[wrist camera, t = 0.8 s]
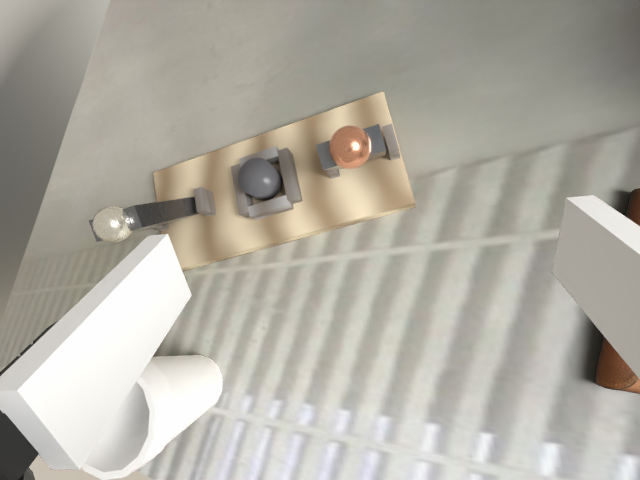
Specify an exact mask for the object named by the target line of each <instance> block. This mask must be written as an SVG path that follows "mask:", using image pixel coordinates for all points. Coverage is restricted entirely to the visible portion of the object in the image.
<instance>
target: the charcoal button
mask: <svg viewBox="0 0 640 480" xmlns="http://www.w3.org/2000/svg"><path fill="white" fill-rule="evenodd" d="M238 182H239V185H240V187H241V189H242V190H243V191H245V192H246V193H248V194H249V195H251V196H253V197H255V198H256V199H258V200H263V201H265V200H270V199H272V198H274V197H275V196H276V195H277V194H278V193H279V191H280V189H281V186H282V177H281V174H280V172H279V171H278V170H277V169H276V168H275V167H274V166H272V165H271V164H270V163H269V162H268V161H267V160H265V159H263V158H252V159H250V160H248V161H247V162H245V163H244V164H243V166H242V167H241V169H240V171H239V174H238Z"/></svg>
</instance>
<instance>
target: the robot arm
mask: <svg viewBox="0 0 640 480" xmlns="http://www.w3.org/2000/svg"><path fill="white" fill-rule="evenodd" d="M552 273H553V275H554V276H555V277H556V278H557V279H558V281H559V282H560V283H561V284H562V286H563V287H564V288H565V289H566V290H567V292H568V293H569V294H570V295H571V297H572V298H573V299H574V300H575V301H576V303H577V304H578V305H579V306H580V307H581V309H582V310H583V311H584V312H585V314H586V315H587V316H588V317H589V318H590V320H591V321H592V322H593V323H594V324H595V326H596V327H597V328H598V329H599V331H600V332H601V333H602V334H603V335H604V337H605V338H606V339H607V340H608V342H609V343H610V344H611V345H612V346H613V348H614V349H615V350H616V351H617V352H618V354H619V355H620V356H621V357H622V359H623V360H624V361H625V362H626V363H627V365H628V366H629V367H630V368H631V369H632V371H633V372H634V373H635V374H636V376H637V377H638V378H639V379H640V226H639V225H637V224H636V223H634V222H633V221H631V220H630V219H628V218H627V217H625V216H624V215H622V214H621V213H619V212H618V211H616V210H615V209H613V208H612V207H610V206H609V205H607V204H606V203H605V202H603V201H602V200H600V199H599V198H597V197H596V196H594V195H591V196H580V197H569V198H566V201H565V207H564V212H563V217H562V222H561V228H560V233H559V238H558V243H557V249H556V254H555V259H554V264H553V270H552ZM191 296H192V295H191V292H190V290H189V287H188V285H187V282H186V280H185V277H184V274H183V272H182V269H181V267H180V264H179V261H178V259H177V256H176V254H175V251H174V248H173V246H172V243H171V241H170V238H169V235H168V234H161V235H150V236H147V237H146V238H145V239H144V240H143V241H142V242H141V243H140V244H139V245H138V246H137V247H136V248H135V249H134V250H133V251H132V252H131V253H129V254H128V255H127V256H126V257H125V258H124V259H123V260H122V261H121V262H120V263H119V264H118V265H117V266H116V267H115V268H114V269H113V270H112V271H111V272H109V273H108V274H107V275H106V276H105V277H104V278H103V279H102V280H101V281H100V282H99V283H98V284H97V285H96V286H95V287H94V288H93V289H92V290H91V291H90V292H88V293H87V294H86V295H85V296H84V297H83V298H82V299H81V300H80V301H79V302H78V303H77V304H76V305H75V306H74V307H73V308H72V309H71V310H70V311H68V312H67V313H66V314H65V315H64V316H63V317H62V318H61V319H60V320H59V321H57V322H56V323H54V324H53V325H51V326H50V327H48V328H47V329H46V330H45V331H44V332H43V333H42V334H41V335H40V336H38V337H37V338H36V339H35V340H34V341H33V344H31V345H29V346H28V347H27V348H26V349H25V350H24V351H23V352H21V353H20V354H21V356H18V357H16V358H15V359H14V360H13V361H12V362H11V363H10V364H9V365H8V366H7V367H5V368H4V369H3V370H2V371H1V372H0V480H35V478H34V475H33V472H32V471H31V470H30V468H29V466H30V465H31V463H32V462H33V461H34V459H35V458H36V457H37V456H38V455H39V456H40V457H41V458H42V459H43V461H44V462H45V463H46V464H47V465H48V466H49V468H50V469H52V470H53V469H54V470H59V469H60V470H80V469H81V467H82V466H83V464H84V462H85V461H86V459H87V458H88V456H89V455H90V453H91V452H92V450H93V448H94V447H95V445H96V444H97V442H98V441H99V439H100V438H101V436H102V434H103V433H104V431H105V430H106V428H107V427H108V425H109V423H110V422H111V420H112V419H113V417H114V416H115V414H116V413H117V411H118V409H119V408H120V406H121V405H122V403H123V402H124V400H125V399H126V397H127V395H128V394H129V392H130V391H131V389H132V388H133V386H134V385H135V383H136V381H137V380H138V378H139V377H140V375H141V374H142V372H143V370H144V369H145V367H146V366H147V364H148V363H149V361H150V360H151V358H152V356H153V355H154V353H155V352H156V350H157V349H158V347H159V346H160V344H161V342H162V341H163V339H164V338H165V336H166V335H167V333H168V332H169V330H170V328H171V327H172V325H173V324H174V322H175V321H176V319H177V318H178V316H179V314H180V313H181V311H182V310H183V308H184V307H185V305H186V303H187V302H188V300H189V299H190V297H191Z"/></svg>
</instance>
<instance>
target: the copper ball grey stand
mask: <svg viewBox="0 0 640 480" xmlns="http://www.w3.org/2000/svg"><path fill="white" fill-rule="evenodd" d="M316 148H317V151H318V154H319V158H320V161H321V164H322V168H323V170H339V169H344V168H345V169H354V168H357V167H359V166H361V165H363V164H364V163H365V162H366V161H369V160H372V159H375V158H379V157H382V156H385V155H386V149H385V145H384V141H383V137H382V134H381V130H380V126H379V124H377V125H374V126H371V127H368V128H365V129H361V128H360V127H357V126H353V125H348V126H344V127H341V128H340V129H338V130H337V131H336V132H335V133H334V134H333V135H332V137H331V139H330V140H329V141H326V142H323V143H320V144H317V145H316Z"/></svg>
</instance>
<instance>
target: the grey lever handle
mask: <svg viewBox="0 0 640 480" xmlns="http://www.w3.org/2000/svg"><path fill="white" fill-rule="evenodd" d="M197 214H200V213H197V209H196V202H195V197H189V198H182V199H176V200H169V201H162V202H156V203H149V204H142V205H136V206H132V207H129V208H126V209H122V208H119V207H113V206H112V207H106V208H103V209H101V210H100V211H99V212H97V214H96V215H95V216H94V219H93V220H90V221H89V223H90V225H91V228H92V230H93V233H94V235H95V238H96V240H97V242H98V241H102V240H104V241H107V242H120V241H123V240H125V239H126V238H128V237H129V236H130V234H131V233H133V232H137V231H141V230H145V229H149V228H153V227H157V226H161V225H164V224H168V223H171V222H175V221H178V220H181V219H184V218H187V217H190V216H194V215H197Z"/></svg>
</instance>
